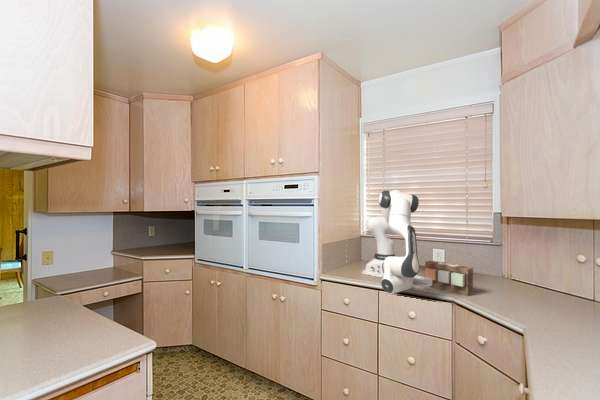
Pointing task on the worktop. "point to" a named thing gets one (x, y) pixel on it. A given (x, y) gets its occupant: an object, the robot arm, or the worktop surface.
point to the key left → (431, 273)
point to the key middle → (444, 276)
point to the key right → (458, 279)
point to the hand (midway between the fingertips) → (420, 276)
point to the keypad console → (450, 287)
